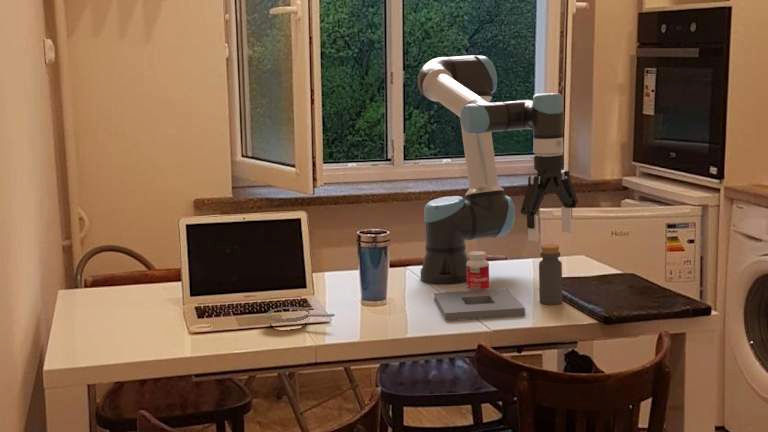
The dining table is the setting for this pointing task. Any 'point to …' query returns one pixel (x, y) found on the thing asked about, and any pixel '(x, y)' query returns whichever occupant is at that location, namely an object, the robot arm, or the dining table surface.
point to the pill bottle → (477, 271)
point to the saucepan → (297, 317)
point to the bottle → (550, 275)
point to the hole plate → (478, 304)
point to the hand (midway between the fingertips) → (550, 236)
